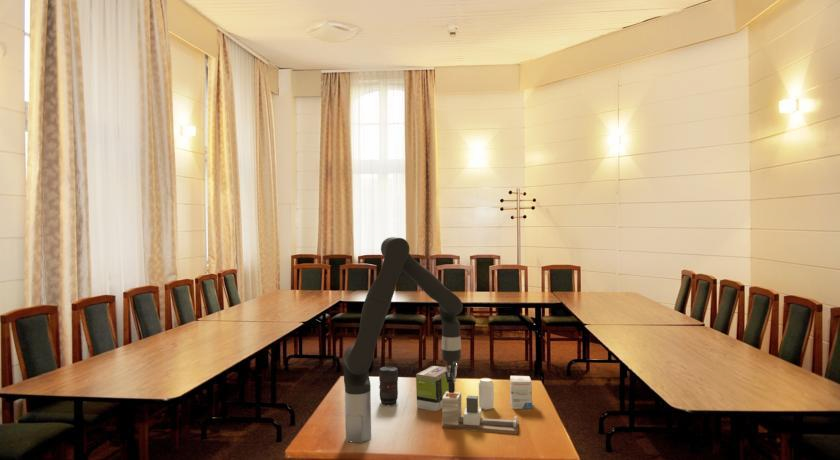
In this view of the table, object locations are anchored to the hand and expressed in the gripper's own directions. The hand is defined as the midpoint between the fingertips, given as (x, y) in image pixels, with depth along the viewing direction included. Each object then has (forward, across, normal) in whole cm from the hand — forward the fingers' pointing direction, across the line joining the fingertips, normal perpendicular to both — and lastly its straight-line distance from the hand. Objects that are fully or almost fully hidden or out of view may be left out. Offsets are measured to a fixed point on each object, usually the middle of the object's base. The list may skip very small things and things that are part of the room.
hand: (451, 392), depth 201 cm
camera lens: (+13, +18, +31) cm, 38 cm away
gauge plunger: (+11, 0, 0) cm, 11 cm away
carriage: (+11, 0, -8) cm, 13 cm away
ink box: (+12, +26, -25) cm, 38 cm away
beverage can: (+12, +20, -11) cm, 26 cm away
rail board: (+12, 0, -11) cm, 17 cm away
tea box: (+13, +20, +11) cm, 26 cm away
